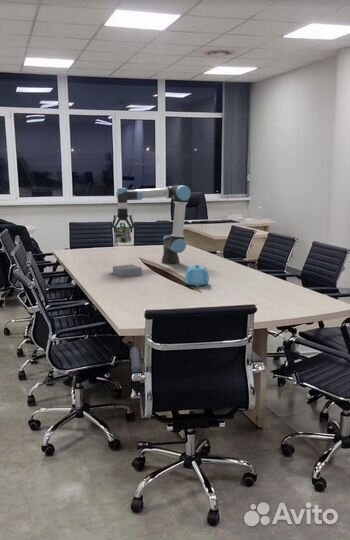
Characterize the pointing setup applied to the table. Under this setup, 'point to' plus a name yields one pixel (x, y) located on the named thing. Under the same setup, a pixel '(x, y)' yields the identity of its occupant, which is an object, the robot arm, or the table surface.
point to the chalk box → (122, 234)
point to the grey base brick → (127, 270)
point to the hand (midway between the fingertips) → (123, 236)
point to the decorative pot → (196, 276)
